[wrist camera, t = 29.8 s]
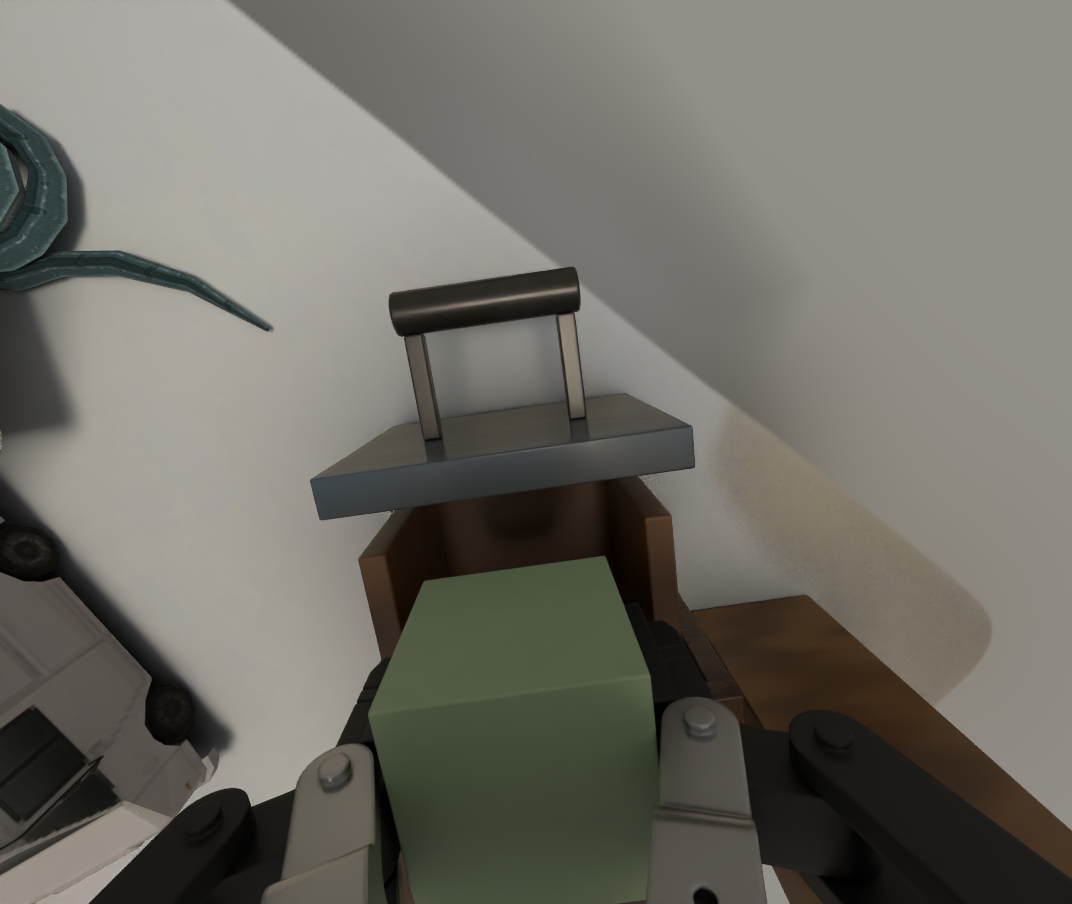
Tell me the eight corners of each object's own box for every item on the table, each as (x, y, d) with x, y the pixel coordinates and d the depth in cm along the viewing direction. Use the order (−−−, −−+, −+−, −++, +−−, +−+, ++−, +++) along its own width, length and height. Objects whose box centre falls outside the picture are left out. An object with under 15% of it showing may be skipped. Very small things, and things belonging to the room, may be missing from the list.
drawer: (369, 311, 21) (261, 290, 12) (615, 276, 21) (679, 230, 12) (432, 618, 24) (380, 772, 15) (645, 588, 24) (714, 726, 15)
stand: (807, 594, 25) (2452, 2053, 4) (809, 696, 26) (2037, 2213, 5) (690, 610, 25) (1644, 2146, 4) (698, 711, 27) (1442, 2284, 5)
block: (605, 554, 12) (650, 674, 8) (623, 711, 13) (673, 897, 9) (422, 580, 12) (366, 713, 8) (455, 734, 13) (420, 930, 9)
